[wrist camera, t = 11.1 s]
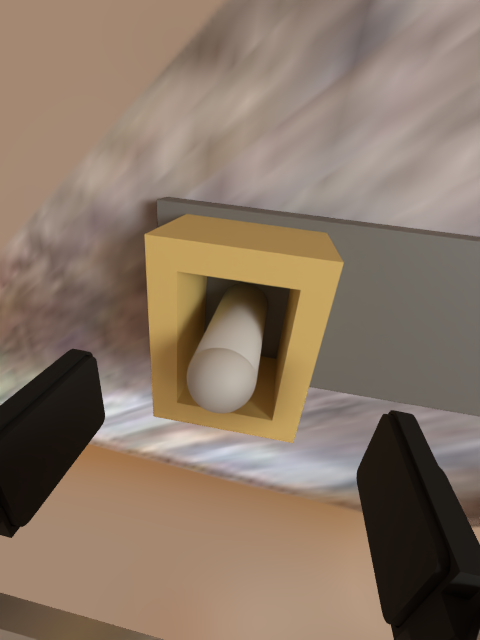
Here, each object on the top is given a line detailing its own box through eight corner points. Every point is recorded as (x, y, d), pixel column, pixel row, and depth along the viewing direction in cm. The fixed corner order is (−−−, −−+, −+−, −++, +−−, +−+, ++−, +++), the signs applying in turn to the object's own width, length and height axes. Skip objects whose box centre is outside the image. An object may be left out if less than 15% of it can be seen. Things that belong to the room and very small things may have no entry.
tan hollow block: (326, 232, 14) (343, 262, 10) (292, 377, 19) (293, 442, 14) (186, 213, 15) (144, 234, 10) (184, 358, 19) (153, 416, 15)
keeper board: (649, 258, 14) (1138, 385, 6) (530, 410, 19) (714, 595, 11) (167, 197, 16) (43, 229, 8) (169, 348, 21) (93, 467, 13)
